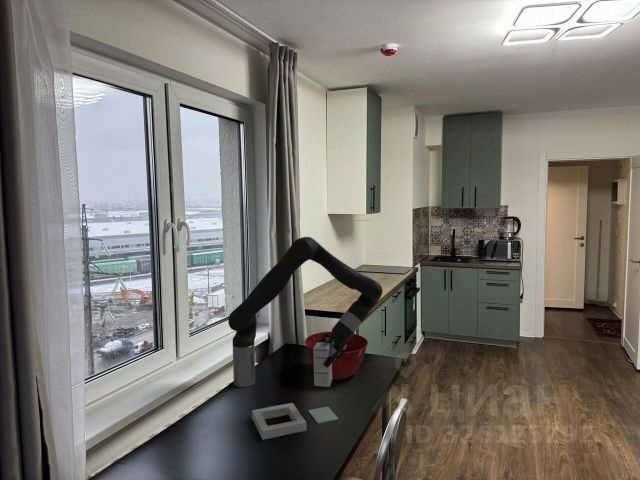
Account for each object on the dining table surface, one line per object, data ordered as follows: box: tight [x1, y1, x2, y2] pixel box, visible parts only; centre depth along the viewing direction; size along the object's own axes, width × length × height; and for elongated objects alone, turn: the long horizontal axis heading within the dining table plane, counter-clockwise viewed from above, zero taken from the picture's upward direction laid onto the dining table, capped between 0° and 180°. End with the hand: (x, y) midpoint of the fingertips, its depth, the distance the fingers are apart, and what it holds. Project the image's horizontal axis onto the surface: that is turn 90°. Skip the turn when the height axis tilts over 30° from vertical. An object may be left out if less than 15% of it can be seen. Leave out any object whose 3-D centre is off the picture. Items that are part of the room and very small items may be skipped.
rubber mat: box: [307, 406, 340, 425], centre depth 166 cm, size 10×8×1 cm
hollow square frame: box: [251, 402, 308, 441], centre depth 160 cm, size 16×16×3 cm
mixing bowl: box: [304, 330, 369, 381], centre depth 203 cm, size 28×28×16 cm
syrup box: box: [313, 342, 333, 388], centre depth 164 cm, size 6×6×14 cm
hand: (319, 362), depth 163 cm, fingers closed on syrup box, 8 cm apart
